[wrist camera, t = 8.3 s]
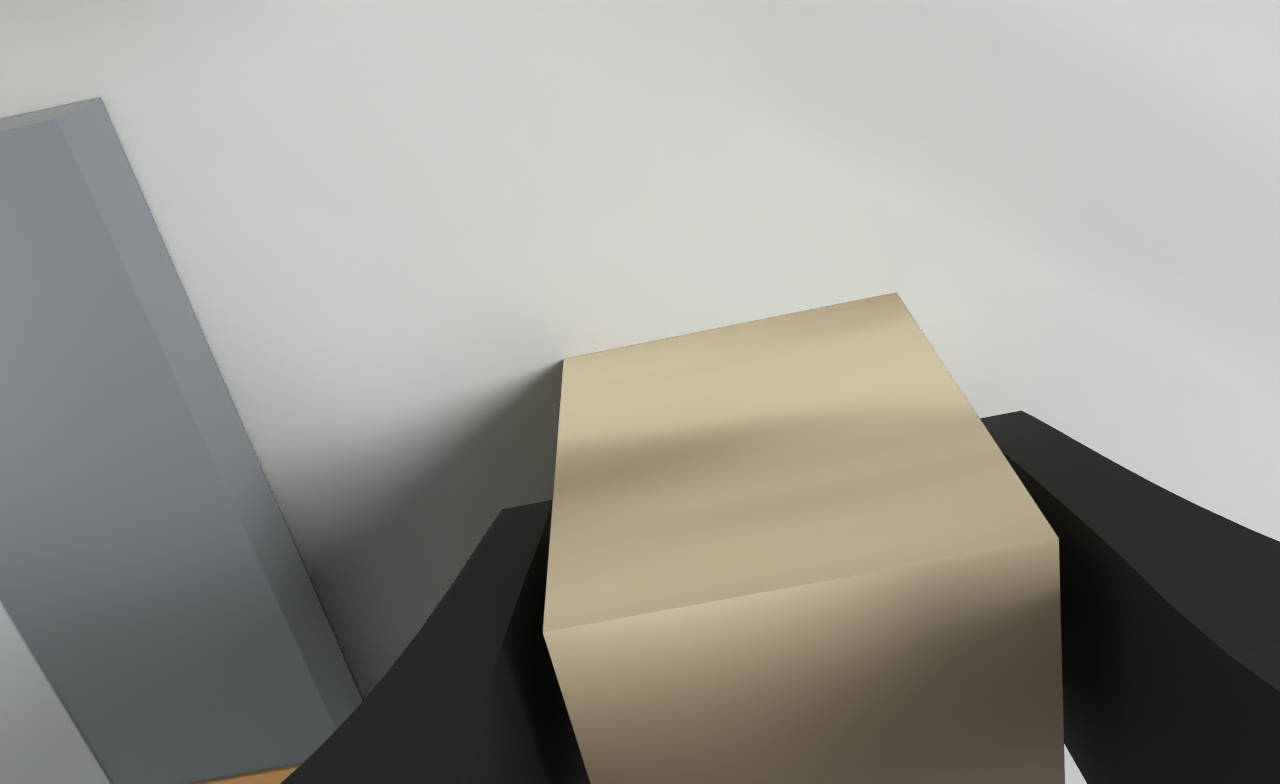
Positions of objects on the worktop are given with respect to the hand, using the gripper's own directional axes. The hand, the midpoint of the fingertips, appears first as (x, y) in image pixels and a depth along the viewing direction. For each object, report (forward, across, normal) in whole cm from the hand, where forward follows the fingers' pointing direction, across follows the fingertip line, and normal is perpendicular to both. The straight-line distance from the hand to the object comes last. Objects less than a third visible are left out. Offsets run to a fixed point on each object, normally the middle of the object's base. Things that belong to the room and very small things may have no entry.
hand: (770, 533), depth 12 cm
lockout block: (+2, 0, 0) cm, 2 cm away
